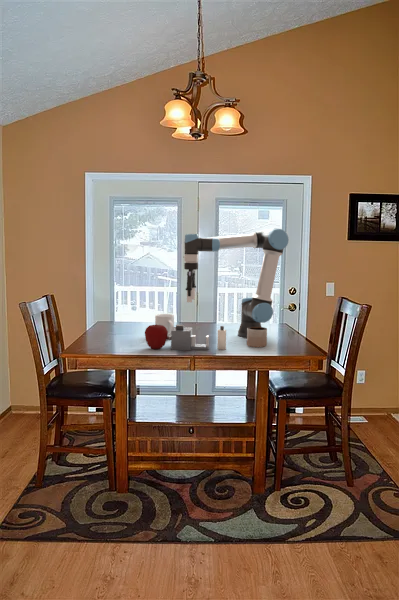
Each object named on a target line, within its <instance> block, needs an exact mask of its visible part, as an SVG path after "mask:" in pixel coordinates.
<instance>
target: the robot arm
mask: <svg viewBox="0 0 399 600" xmlns="http://www.w3.org/2000/svg"><path fill="white" fill-rule="evenodd" d="M183 243H184V255H183V258H184V263H183V264H184V265H183V266H184V270H186V271H187V270H188V271H187V273H186V275H187V278H186V288H185V291H186V303H193V300H195V298H196V297H195V296H196V293H195V292H196V288H197V286H196V271H197V270H198V269H199V263H198V262H199V252H209V253H210V252H213V253H214V252H218V251H220V250H231V249H232V250H233V249H241V248H253V249H262V252H263V254H264V255H263V259H262V263H261V269H260V271H259V272H260V274H259V277H258V283H257V286H256V293H255V295H253V296H252V297H244V298H242V299H241V310H240V311H241V315H240V316H241V318H240V319H241V321H240V325H239V328H238V330H237V336H238V337H242V338H247V328H248V327H262V324H264V323H267V322H269V321H270V320H271V319H272V317H273V315H274V310H273V309H274V308H273V306H272V305H273V299H272V297H271V296H272V291H273V288H274V287H273V286H274V283H275V278H276V272H277V269H278V265H279V259H280V256H282V255H283V253H284V250H285V248H286V247H287V246H288V245H289V235H288V234H287V232H286V231H285V230H284V229H281V228H276V227H275V228H267V229H263V230H259V231H253V232H252V233H250V234H249V233H248V234H247V233H245V234H235V235H225V236H212V237H199V234H198V233H186V234H184V242H183Z"/></svg>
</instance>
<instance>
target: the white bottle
mask: <svg viewBox="0 0 399 600" xmlns="http://www.w3.org/2000/svg"><path fill="white" fill-rule="evenodd" d="M224 328H225V326H224V325H220V329H217V350H221V351H225V350H226V349H227V329H224Z"/></svg>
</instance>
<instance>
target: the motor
mask: <svg viewBox="0 0 399 600" xmlns="http://www.w3.org/2000/svg"><path fill="white" fill-rule="evenodd" d="M196 335H197V334H193V326H190V327H187V326H185V325H184V324H176V325H175V326H174V327H173V329H172V330H171V336H167V340H166V341H170V350H171V351H191V350H192V351H193V350H197V351H198V350H199V351H201V350H202V351H204V350H205V351H209V349H210V348H209V347H210V335H209V334H208V335H206V336H205V338H206V339H205V340H206V341H205V343H197V342H196V341H197V340H196V337H197V336H196Z"/></svg>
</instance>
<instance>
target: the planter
mask: <svg viewBox="0 0 399 600" xmlns="http://www.w3.org/2000/svg"><path fill="white" fill-rule="evenodd" d="M246 345H247V346H248V347H251V348H265V347H266V346H267V345H268V328H266V327H263V326H261V327H248V328H247V337H246Z"/></svg>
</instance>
